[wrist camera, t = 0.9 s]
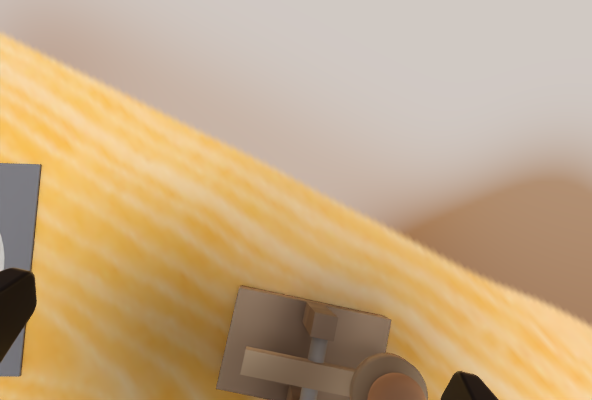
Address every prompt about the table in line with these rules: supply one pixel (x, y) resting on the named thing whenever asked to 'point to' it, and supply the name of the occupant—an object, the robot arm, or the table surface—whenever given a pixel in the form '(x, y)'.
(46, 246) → the table surface
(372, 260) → the table surface
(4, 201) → the pad
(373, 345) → the catapult
